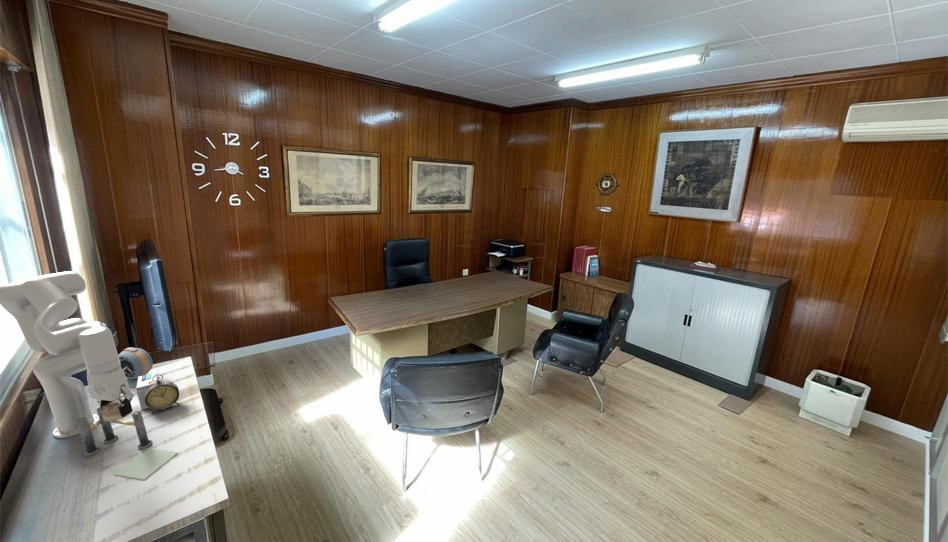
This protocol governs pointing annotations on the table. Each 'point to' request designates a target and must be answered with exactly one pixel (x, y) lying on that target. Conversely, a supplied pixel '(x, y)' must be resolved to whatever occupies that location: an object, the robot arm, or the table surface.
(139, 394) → the light bulb box
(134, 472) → the pad
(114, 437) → the rope barrier
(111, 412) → the pot
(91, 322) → the robot arm
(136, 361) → the alarm clock
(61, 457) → the table surface
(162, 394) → the alarm clock
